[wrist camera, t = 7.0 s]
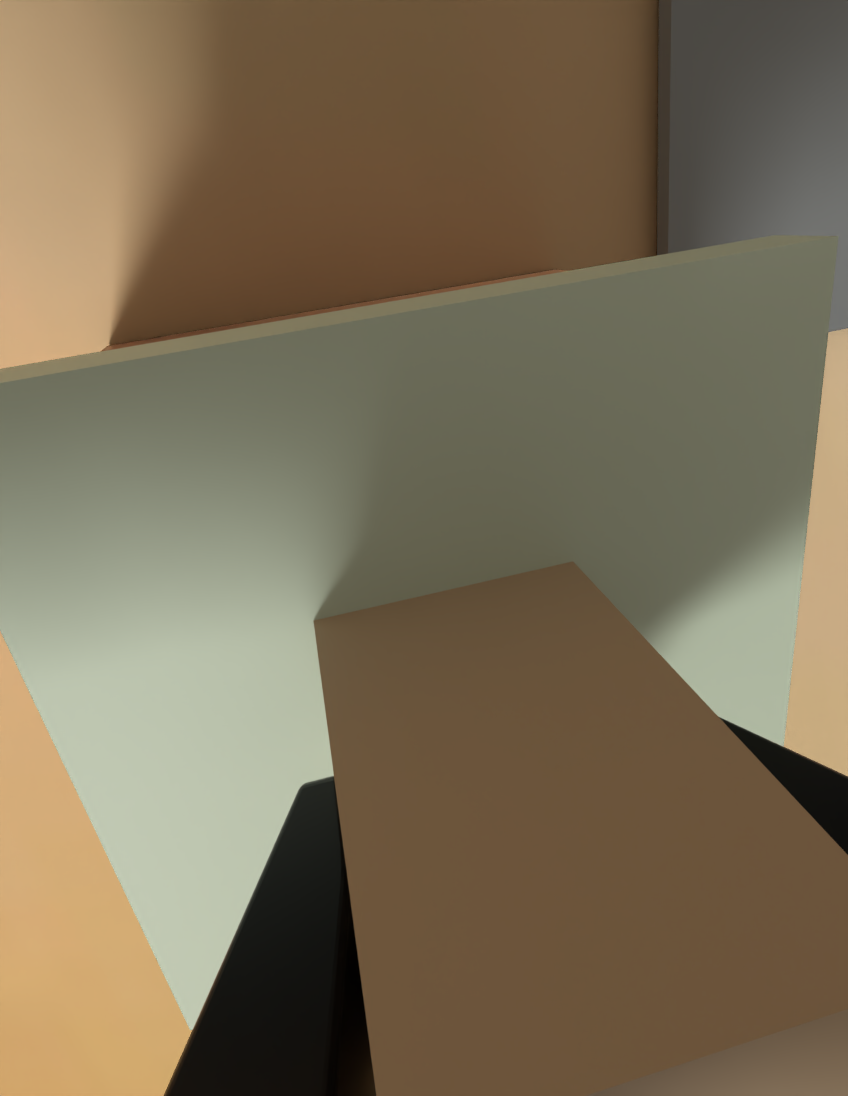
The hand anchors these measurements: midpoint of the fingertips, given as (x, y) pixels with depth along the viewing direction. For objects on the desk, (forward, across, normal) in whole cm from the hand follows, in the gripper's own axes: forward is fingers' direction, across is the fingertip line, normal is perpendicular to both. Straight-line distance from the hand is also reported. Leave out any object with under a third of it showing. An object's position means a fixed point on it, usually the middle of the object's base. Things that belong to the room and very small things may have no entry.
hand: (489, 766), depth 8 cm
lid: (+2, 0, 0) cm, 2 cm away
